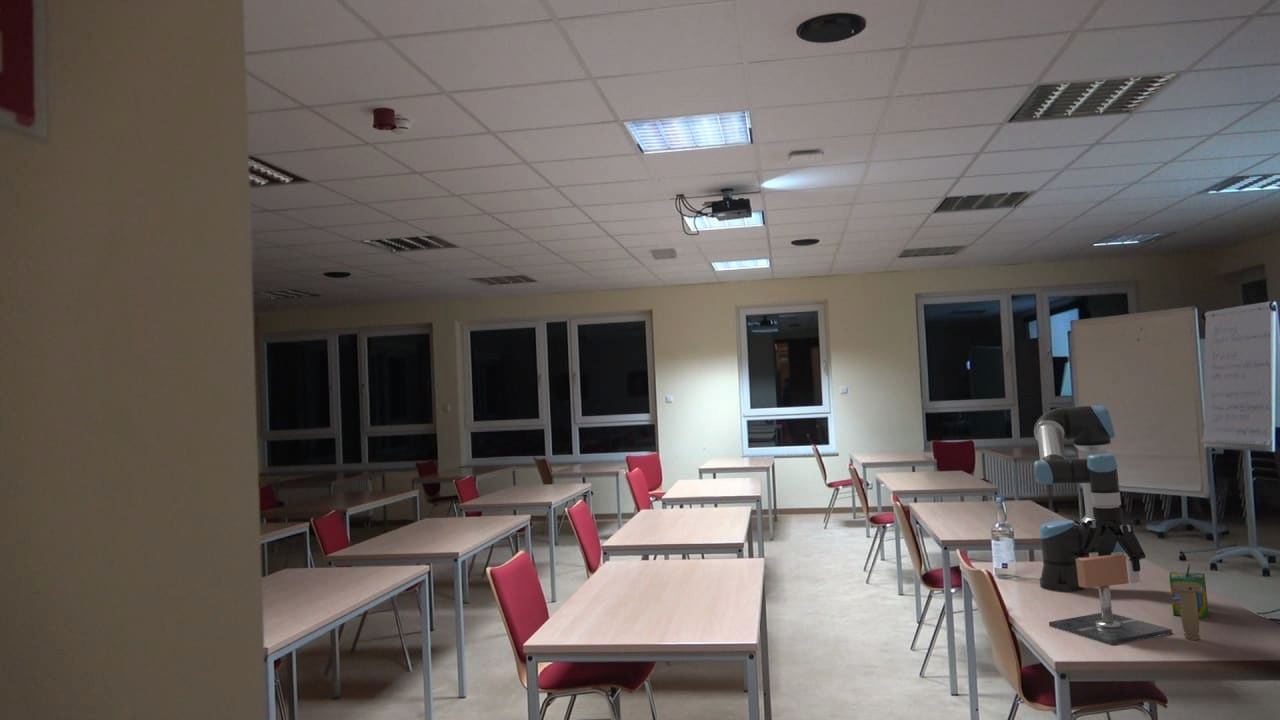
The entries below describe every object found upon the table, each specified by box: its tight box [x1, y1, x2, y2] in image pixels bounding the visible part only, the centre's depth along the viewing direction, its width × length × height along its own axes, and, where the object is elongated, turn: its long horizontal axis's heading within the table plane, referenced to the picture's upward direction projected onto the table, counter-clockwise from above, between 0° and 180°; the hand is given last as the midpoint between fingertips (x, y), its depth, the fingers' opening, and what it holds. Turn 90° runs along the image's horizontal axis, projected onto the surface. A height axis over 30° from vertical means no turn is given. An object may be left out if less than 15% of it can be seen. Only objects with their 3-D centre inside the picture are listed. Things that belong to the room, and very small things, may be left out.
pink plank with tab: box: [1076, 552, 1130, 589], centre depth 229 cm, size 3×14×9 cm, turn 98°
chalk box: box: [1169, 563, 1210, 618], centre depth 238 cm, size 9×9×15 cm
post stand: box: [1048, 586, 1173, 646], centre depth 228 cm, size 22×22×13 cm
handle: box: [1172, 582, 1200, 641], centre depth 215 cm, size 5×6×15 cm
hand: (1115, 578), depth 230 cm, fingers open, 13 cm apart
